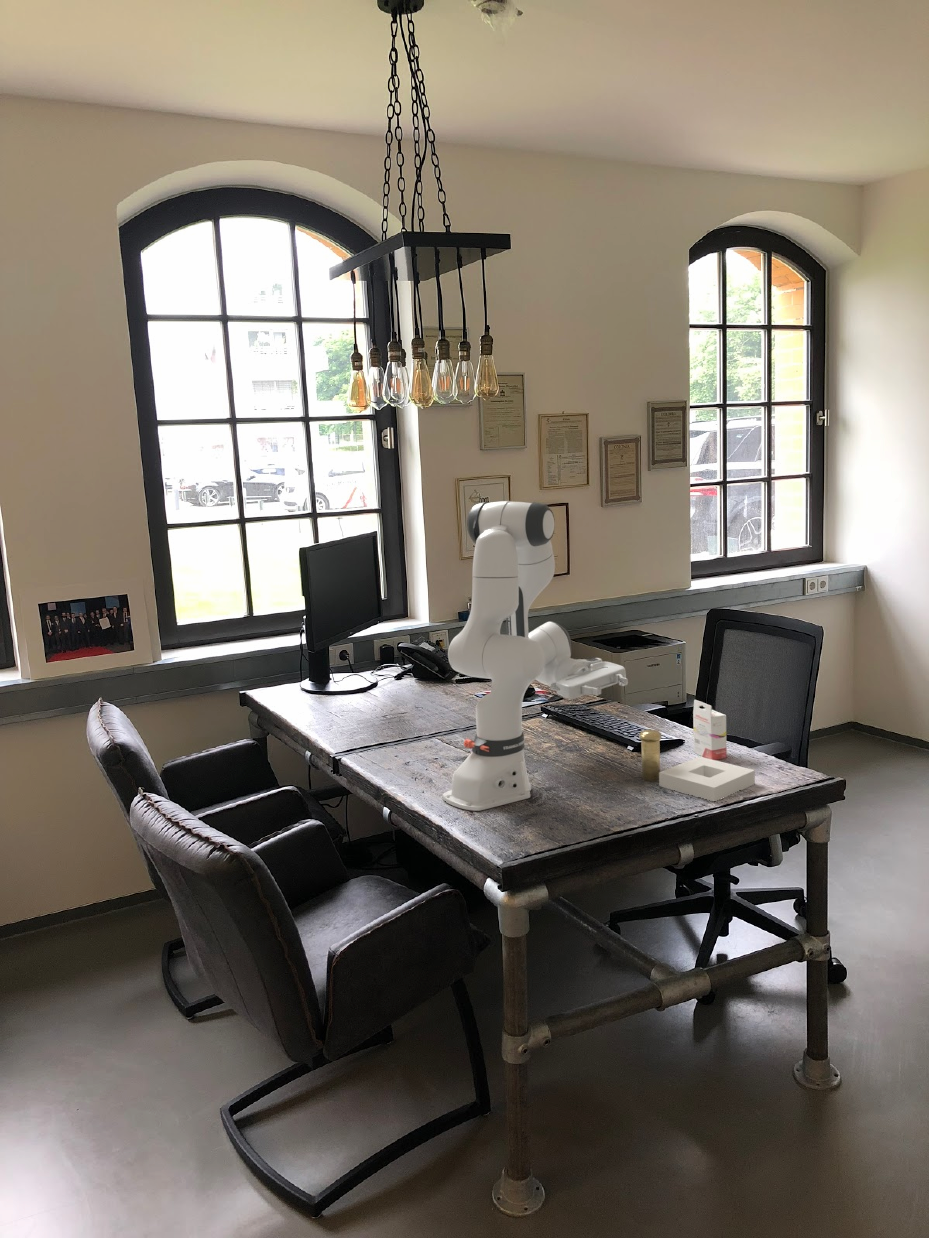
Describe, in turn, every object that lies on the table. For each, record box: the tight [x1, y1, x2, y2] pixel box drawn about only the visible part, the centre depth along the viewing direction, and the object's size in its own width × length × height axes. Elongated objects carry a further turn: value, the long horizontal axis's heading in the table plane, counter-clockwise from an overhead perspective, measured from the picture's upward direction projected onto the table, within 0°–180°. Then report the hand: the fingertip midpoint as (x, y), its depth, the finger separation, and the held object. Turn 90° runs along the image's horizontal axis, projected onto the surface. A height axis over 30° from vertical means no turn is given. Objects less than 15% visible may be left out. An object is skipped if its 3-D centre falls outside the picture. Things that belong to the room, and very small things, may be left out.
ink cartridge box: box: [692, 699, 728, 761], centre depth 257 cm, size 9×5×15 cm, turn 21°
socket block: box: [658, 756, 756, 802], centre depth 237 cm, size 16×16×4 cm
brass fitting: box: [638, 728, 662, 783], centre depth 243 cm, size 5×5×12 cm
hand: (612, 687), depth 249 cm, fingers open, 8 cm apart
